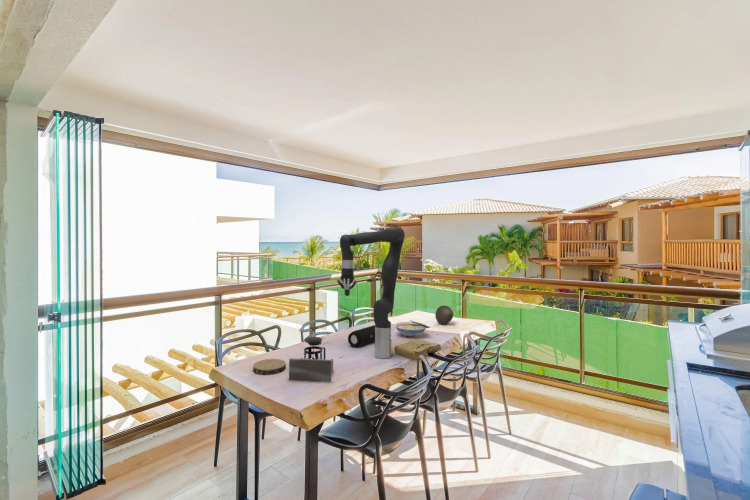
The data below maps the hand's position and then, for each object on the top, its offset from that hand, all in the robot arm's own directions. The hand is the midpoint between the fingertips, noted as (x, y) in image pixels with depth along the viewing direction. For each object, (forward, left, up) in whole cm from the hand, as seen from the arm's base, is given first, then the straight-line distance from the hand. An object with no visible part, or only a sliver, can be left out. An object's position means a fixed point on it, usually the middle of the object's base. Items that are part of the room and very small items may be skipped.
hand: (347, 295), depth 217 cm
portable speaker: (-7, -16, -33) cm, 38 cm away
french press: (+4, +40, -33) cm, 52 cm away
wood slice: (+27, +43, -34) cm, 61 cm away
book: (-43, -6, -34) cm, 55 cm away
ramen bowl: (-33, -44, -33) cm, 64 cm away
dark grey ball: (-54, -86, -33) cm, 107 cm away
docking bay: (+2, +44, -33) cm, 55 cm away
